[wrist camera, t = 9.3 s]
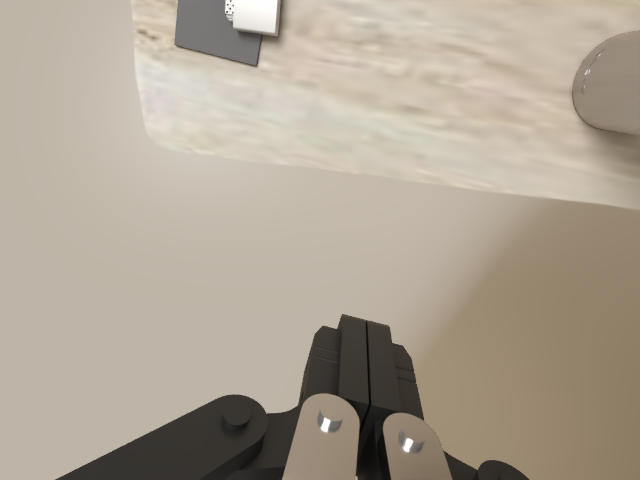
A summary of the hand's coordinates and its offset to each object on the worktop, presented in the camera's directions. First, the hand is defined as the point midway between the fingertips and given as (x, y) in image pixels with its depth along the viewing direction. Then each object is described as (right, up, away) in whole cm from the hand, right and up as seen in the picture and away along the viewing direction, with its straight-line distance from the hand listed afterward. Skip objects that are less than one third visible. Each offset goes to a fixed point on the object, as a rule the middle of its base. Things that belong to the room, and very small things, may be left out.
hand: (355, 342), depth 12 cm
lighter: (-5, +27, +26) cm, 38 cm away
